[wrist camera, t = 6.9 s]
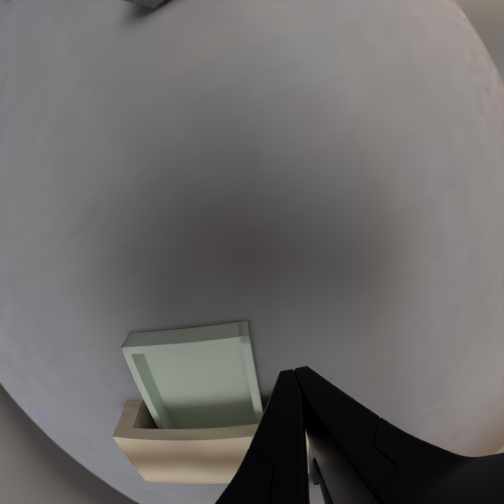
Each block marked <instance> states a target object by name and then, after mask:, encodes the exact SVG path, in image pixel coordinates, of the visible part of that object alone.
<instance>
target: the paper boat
mask: <svg viewBox="0 0 504 504" xmlns="http://www.w3.org/2000/svg"><path fill="white" fill-rule="evenodd" d="M124 1H128V2H132V3H136V4H140V5H143V6H147V7H150V8H154V9H155V8H156V7H157V6H158V5H159V4H161V3H162V2H163V1H164V0H124Z"/></svg>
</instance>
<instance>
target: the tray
mask: <svg viewBox="0 0 504 504" xmlns="http://www.w3.org/2000/svg"><path fill="white" fill-rule="evenodd" d="M121 348H122V351H123V353H124V356H125V358H126V361H127V363H128V366H129V368H130V370H131V373H132V375H133V377H134V380H135V382H136V384H137V386H138V389H139V391H140V393H141V395H142V397H143V399H144V401H145V403H146V405H147V407H148V409H149V411H150V413H151V415H152V417H153V419H154V421H155V423H156V425H157V427H158V429H206V428H222V427H234V426H244V425H253V424H259V423H260V420H261V418H262V416H263V413H264V411H263V405H262V400H261V394H260V389H259V383H258V378H257V372H256V367H255V361H254V355H253V350H252V344H251V338H250V332H249V326H248V321H242V322H235V323H228V324H220V325H212V326H203V327H195V328H185V329H175V330H165V331H154V332H141V333H130V334H129V336H128V337H127V339H126V340H125V342H124V344H123V345H122V347H121Z"/></svg>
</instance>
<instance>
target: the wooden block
mask: <svg viewBox="0 0 504 504" xmlns="http://www.w3.org/2000/svg"><path fill="white" fill-rule="evenodd" d="M258 425H259V424H253V425H244V426H234V427H222V428H206V429H157V428H156V426H155V424H154V422H153V420H152V418H151V417H150V415H149V413H148V411H147V409H146V407H145V405H144V403H143V401H142V400H128V401H127V404H126V406H125V408H124V410H123V413H122V415H121V418H120V420H119V422H118V425H117V427H116V429H115V432H114V434H113V438H114V440H115V441H116V443H117V444H118V445H119V447H120V448H121V450H122V451H123V452H124V454H125V455H126V456H127V458H128V459H129V460H130V462H131V463H132V464H133V466H134V467H135V468H136V469H137V471H138V472H139V473H140V474H141V476H142V477H143V478H144V479H145V481H151V482H162V483H178V484H225V483H230V482H231V480H232V478H233V477H234V475H235V474H236V472H237V470H238V468H239V466H240V464H241V463H242V461H243V459H244V456H245V454H246V452H247V450H248V449H249V446H250V443H251V441H252V439H253V437H254V434H255V432H256V430H257V427H258ZM306 443H307V459H308V473H309V440H308V437H307V434H306Z"/></svg>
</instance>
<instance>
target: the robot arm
mask: <svg viewBox="0 0 504 504" xmlns="http://www.w3.org/2000/svg"><path fill="white" fill-rule="evenodd" d="M306 434H307V437H308V440H309V443H310V445H311V448H312V450H313V453H314V455H315V458H316V459H315V460H314V461H313V484H314V485H318V484H320V487H321V491H322V495H323V499H324V502H325V504H504V453H499V454H494V455H488V456H481V457H467V456H462V455H458V454H455V453H452V452H450V451H447V450H445V449H442V448H440V447H437V446H435V445H432V444H430V443H428V442H425V441H423V440H421V439H419V438H416V437H414V436H412V435H410V434H408V433H406V432H404V431H402V430H401V429H399V428H397V427H396V426H394V425H392V424H391V423H389V422H387V421H386V420H384V419H383V418H380V417H379V416H378V415H377V414H375V413H374V412H372V411H371V410H369V409H368V408H366V407H365V406H363V405H362V404H360V403H359V402H357V401H356V400H354V399H353V398H351V397H350V396H349V395H347V394H346V393H344V392H343V391H341V390H340V389H339V388H337V387H336V386H334V385H333V384H331V383H330V382H329V381H327V380H326V379H325V378H323V377H322V376H320V375H319V374H318V373H316V372H315V371H313V370H312V369H311V368H309V367H308V366H304V367H300V368H296V369H295V370H293V369H290V370H285V371H281V372H280V373H279V376H278V378H277V381H276V383H275V386H274V388H273V391H272V393H271V396H270V398H269V401H268V403H267V406H266V408H265V411H264V413H263V416H262V418H261V420H260V423H259V425H258V427H257V430H256V432H255V434H254V437H253V439H252V441H251V443H250V446H249V449H248V450H247V452H246V454H245V456H244V459H243V461H242V463H241V464H240V466H239V468H238V470H237V472H236V474H235V475H234V477H233V478H232V480H231V482H230V483H229V485H228V486H227V488H226V489H225V490H224V492H223V493H222V495H221V496H220V497H219V499H218V500H217V501H216V503H215V504H310V500H309V478H308V459H307V443H306Z"/></svg>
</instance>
